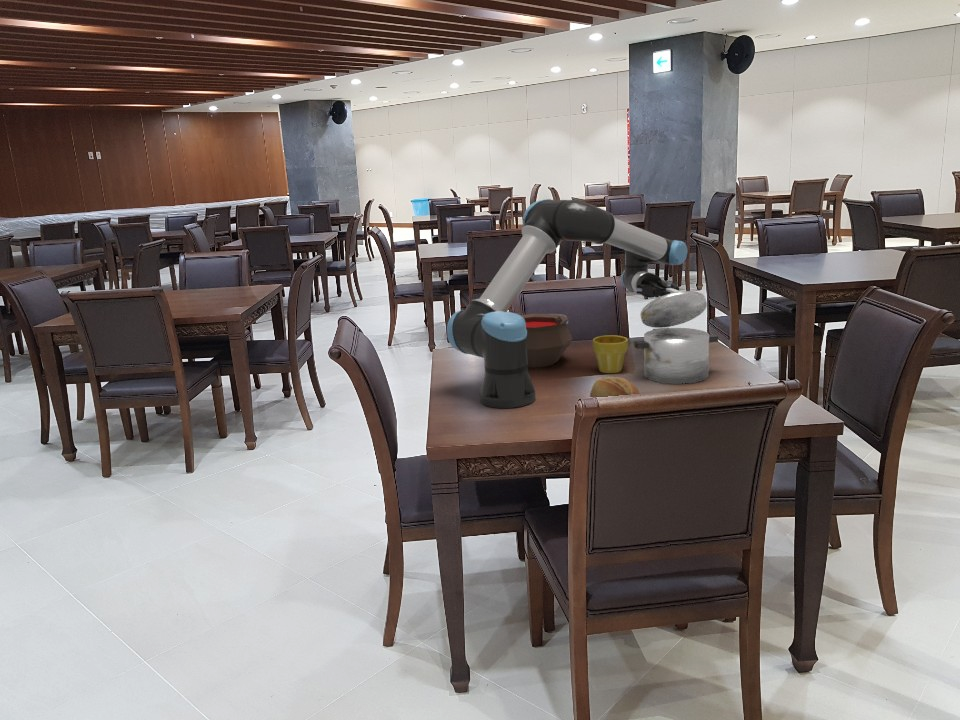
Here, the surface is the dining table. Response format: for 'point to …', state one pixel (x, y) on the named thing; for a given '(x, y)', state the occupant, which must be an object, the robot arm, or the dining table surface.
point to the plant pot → (610, 352)
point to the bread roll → (613, 387)
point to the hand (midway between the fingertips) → (677, 296)
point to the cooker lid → (673, 309)
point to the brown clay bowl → (545, 338)
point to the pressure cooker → (676, 354)
